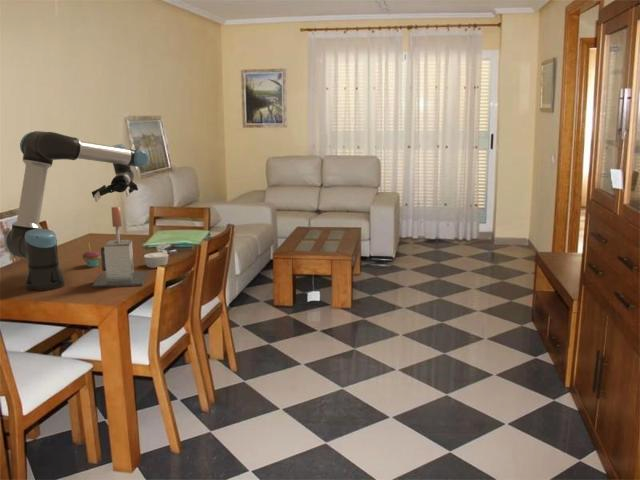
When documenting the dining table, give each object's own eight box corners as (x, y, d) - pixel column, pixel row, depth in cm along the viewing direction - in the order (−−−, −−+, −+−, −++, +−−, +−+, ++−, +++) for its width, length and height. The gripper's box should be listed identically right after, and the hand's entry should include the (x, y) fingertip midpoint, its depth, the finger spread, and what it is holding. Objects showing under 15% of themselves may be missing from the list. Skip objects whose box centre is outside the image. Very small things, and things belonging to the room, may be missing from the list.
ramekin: (139, 267, 286) (138, 256, 285) (154, 262, 297) (153, 251, 296) (159, 269, 282) (158, 258, 281) (173, 264, 293) (172, 253, 292)
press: (92, 288, 252) (89, 248, 248) (100, 275, 271) (97, 238, 268) (142, 285, 255) (139, 246, 252) (147, 273, 275) (144, 236, 271)
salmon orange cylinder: (114, 263, 259) (110, 208, 255) (115, 261, 263) (112, 206, 258) (123, 263, 260) (119, 207, 255) (124, 261, 264) (120, 206, 259)
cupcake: (95, 268, 284) (93, 243, 282) (79, 267, 286) (77, 242, 283) (105, 263, 292) (103, 239, 290) (89, 263, 294) (87, 238, 292)
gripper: (149, 185, 288) (141, 199, 269) (96, 194, 287) (85, 208, 268) (145, 170, 285) (137, 183, 266) (92, 179, 284) (80, 192, 265)
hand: (111, 196), depth 267 cm, fingers open, 13 cm apart
